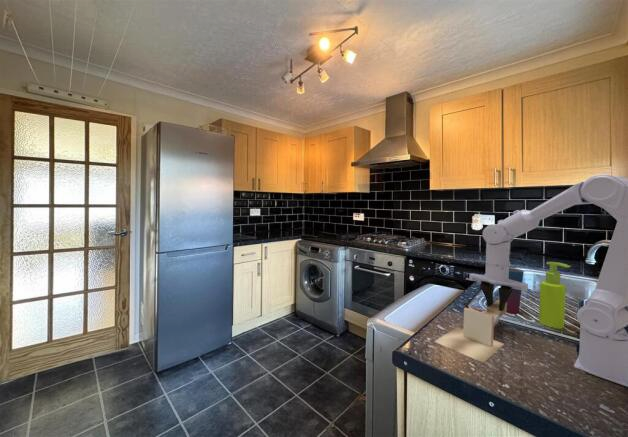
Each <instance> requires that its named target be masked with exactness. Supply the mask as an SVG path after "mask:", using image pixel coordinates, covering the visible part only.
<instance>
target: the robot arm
mask: <svg viewBox="0 0 628 437" xmlns="http://www.w3.org/2000/svg"><path fill="white" fill-rule="evenodd" d="M588 204H589V205H591V204H593V205H595V206H598V208H599V207H600V208H601V209H604V210H605V211H606V212H607V213H608V214H610V216H612V217H613V218H614V219H615V220H616V224H615V228H614V230H613V234H612V236H611V240H610V243H609V246H608V249H607V252H606V255H605V258H604V261H603V265H602V266H601V269H600V273H599V275H598V279H597V282H596V285H595V288H594V290H593V291H592V293H590V295H589V297H588V298H587V301H586V303H585V304H584V305H583V306H582V307H580V308H579V309H578V310H577V312H576V319H577V322H578V324H579V325H580V327H579V328H580V329H579V332H580V333H579V348H578V349H579V350H578V353H579V354H578V356H577V359H576V360H575V362H574V364H573V367H574V368H576V369H579V370H582V371H584V372H586V373H587V374H590V375H593V376H596V377H599V378H602V379H604V380H607V381H610V382H613V383H616V384H618V385H622V386H623V387H624V386H625V387H627V388H628V331H627V330H626V329H625V327H628V177H624V176H614V175H613V174H606V173H605V174H596V175H594V176H591V177H589V178H587V179H586V180H585V181H580V182H578V183H576V184H574V185H572V186H570V187H569V188H567V189H566V190H564V191H562V192H560V193H558V194H557V195H555V196H553V197H552V198H550V199H548V200H547V201H545V202H543V203H541V204H539V205H538V206H536V207H535V208H533V209H531V210H528V209H521V210H519V209H517V210H514V211H513V212H512V214H511V215H509V216H508V217H506V218H505V219H500V220H498V221H497V224H493V223H492V224H488V225H487V226H486V227H485V228H483V229H482V238H483V239H484V241H485V242H486V243H485V244H486V245H485V247H486V248H485V273H484V274H478V273H472V272H471V273H469V278H468V279H469V281H475V282H479V283H480V284H479V288H480V289H481V291H482V293H483V295H484V298H485V302H486V305H487V308H488V307H489V306H491V305H492V304H493V303H494V291H495V290H494V289H495V286H500V287H499V288H498V296H499V297H498V298H499V299H498V300H499V311H503V310H504V308H505V304H506V302H507V300H508V298H509V296H510V294H511V293H512V291H513V290H514V289H518V290H521V292H528V288H529V284H528V283H526V282H518V281H514V280H510V279H509V268H510V247H511V245H510V244H511V243H512V242H513V240H514V239H515V238H517V237H520V236H521V235H524V234H526V233H528V232H530V231H532V230H534V229H536V228H538V227H539V224H540V222H541V220H544V219H547V218H549V217H550V216H551V217H552V216H553V215H555V214H557V213H560V212H562V211H564V210H566V209H569V208H572V207H573V206H577V205H588ZM501 286H502V287H501Z"/></svg>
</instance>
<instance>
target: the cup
mask: <svg viewBox="0 0 628 437" xmlns="http://www.w3.org/2000/svg"><path fill="white" fill-rule="evenodd" d="M524 272H525V271H524V270H522V269H519V268H516V267H509V279H510V280H514V281H518V282H522V283H524V281H523V280H524ZM500 287H502V286H500ZM521 297H522V291H521V290H518V289H514V290H513V291H512V293H511V294H510V296H509V298H508V300H507V312H506V313H509V314H514V315H515V314H516V315H517V314H519V313H520V307H521Z"/></svg>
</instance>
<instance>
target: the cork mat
mask: <svg viewBox="0 0 628 437" xmlns="http://www.w3.org/2000/svg"><path fill="white" fill-rule="evenodd" d="M433 342H434V343H436V344H438V345H440V346H444V347H446V348H448V349H450V350H452V351H455V352H457V353H459V354H461V355H464V356H466V357H469V358H472V359H474V360H476V361H478V362H481V363H483V364H484V363H485V362H487V360H488V359H490V358H491V357H492V356H493V355H495V354H496V352H497V351H499V350H500V349H501V348H502V347H503V346H504V345H505V343H502V342H501V341H497V340H495V339H493V346H492V347H491V346H488V345H486V344H483V343H480V342H478V341H475V340H472V339H470V338H467V337H464V336H463V328H460V327H458V326H456V327H455V328H454V329H452V330H451V331H449V332H448V333H446V334H444V335H442V336H440V337H439V338H437V339H436V340H434V341H433Z"/></svg>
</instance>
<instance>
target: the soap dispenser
mask: <svg viewBox="0 0 628 437" xmlns="http://www.w3.org/2000/svg"><path fill="white" fill-rule="evenodd" d="M546 265H549V270H548V271H546V272H545V280H544V281H540V282H539V305H538V306H539V308H538V309H539V311H538V322H539V324H540V325H542V324H543V325H542V326H544V325H546V326H545V327H547V326H549V327H548V328H551V327H553V328H552V329H556V328H557V329H558V330H561V329H564V328H565V314H566V313H565V309H566V291H567V290H566V288H567V287H566V286H567V285H565V284H563V283H561V273H560V272H558V267H562V268H565V269H566V268H571V267H572V266H571V265H568V264H566V263H562V262H556V261H546Z"/></svg>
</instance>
